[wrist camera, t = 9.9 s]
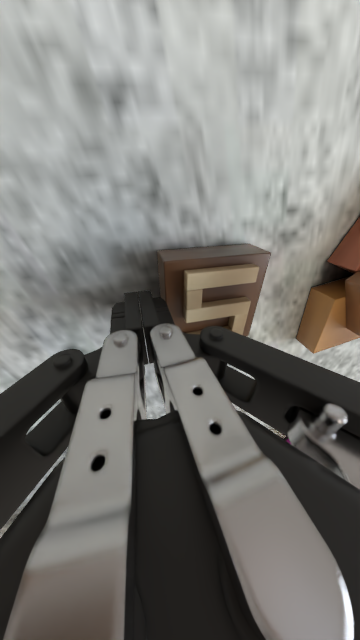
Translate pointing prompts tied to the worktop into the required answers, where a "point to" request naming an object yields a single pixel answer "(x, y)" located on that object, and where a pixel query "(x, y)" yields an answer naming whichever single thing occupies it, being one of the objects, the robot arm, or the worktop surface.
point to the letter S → (212, 285)
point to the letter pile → (335, 301)
